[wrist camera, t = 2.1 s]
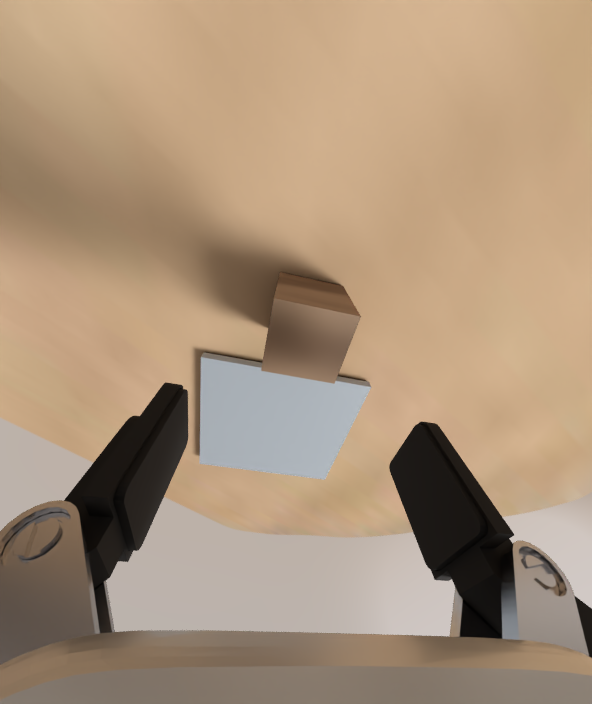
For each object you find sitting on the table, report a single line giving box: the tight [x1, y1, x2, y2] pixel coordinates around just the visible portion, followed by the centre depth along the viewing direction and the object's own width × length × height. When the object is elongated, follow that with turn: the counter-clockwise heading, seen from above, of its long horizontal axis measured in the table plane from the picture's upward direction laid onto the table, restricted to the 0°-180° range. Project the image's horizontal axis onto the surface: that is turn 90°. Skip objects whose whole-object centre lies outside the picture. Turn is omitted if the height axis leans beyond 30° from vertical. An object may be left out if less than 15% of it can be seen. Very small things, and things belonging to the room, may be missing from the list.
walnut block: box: [261, 272, 361, 384], centre depth 17 cm, size 5×5×6 cm
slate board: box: [200, 352, 371, 480], centre depth 26 cm, size 16×16×1 cm
